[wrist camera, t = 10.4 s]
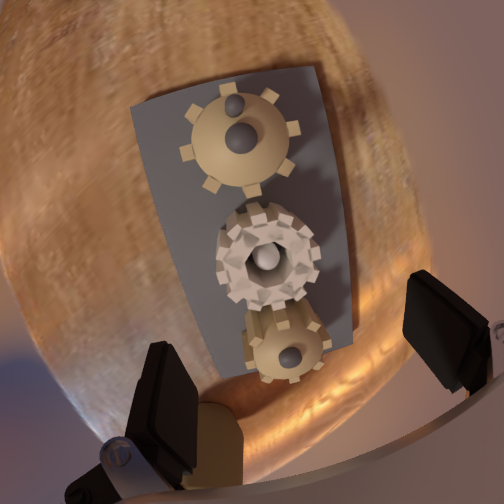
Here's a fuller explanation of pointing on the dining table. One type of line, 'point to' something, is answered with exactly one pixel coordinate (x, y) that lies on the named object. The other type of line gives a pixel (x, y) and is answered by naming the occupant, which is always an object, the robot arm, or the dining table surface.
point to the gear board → (235, 199)
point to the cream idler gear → (258, 233)
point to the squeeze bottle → (217, 449)
